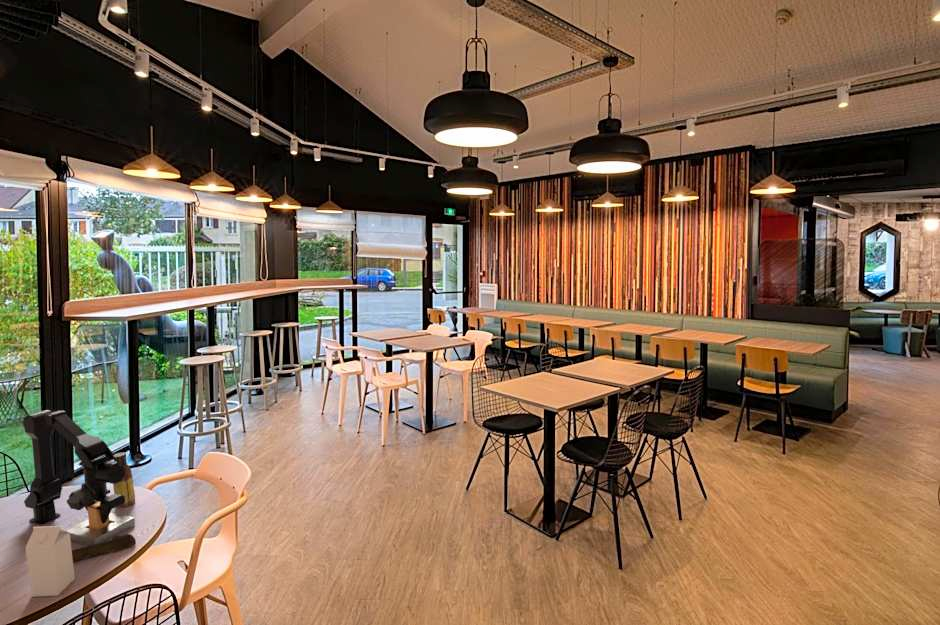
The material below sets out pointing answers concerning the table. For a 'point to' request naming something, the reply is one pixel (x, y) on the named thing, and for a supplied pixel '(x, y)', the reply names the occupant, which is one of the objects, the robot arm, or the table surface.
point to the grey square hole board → (91, 537)
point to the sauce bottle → (124, 481)
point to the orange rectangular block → (96, 518)
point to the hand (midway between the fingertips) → (99, 521)
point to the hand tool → (104, 547)
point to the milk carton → (49, 561)
